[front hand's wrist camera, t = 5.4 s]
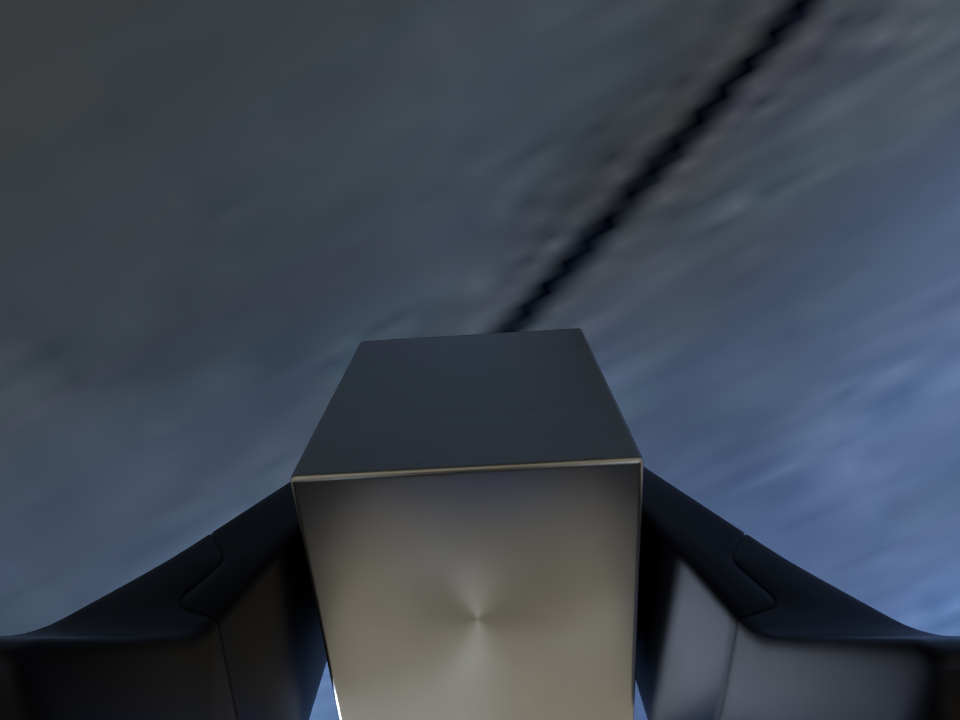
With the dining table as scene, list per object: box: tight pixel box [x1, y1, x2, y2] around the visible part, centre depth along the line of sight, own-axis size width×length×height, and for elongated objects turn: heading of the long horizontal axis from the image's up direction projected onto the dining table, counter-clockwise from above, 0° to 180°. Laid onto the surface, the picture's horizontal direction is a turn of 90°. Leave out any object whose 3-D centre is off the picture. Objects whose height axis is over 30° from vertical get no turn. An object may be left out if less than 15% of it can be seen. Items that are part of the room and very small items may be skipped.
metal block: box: [290, 328, 644, 720], centre depth 10 cm, size 4×4×5 cm
